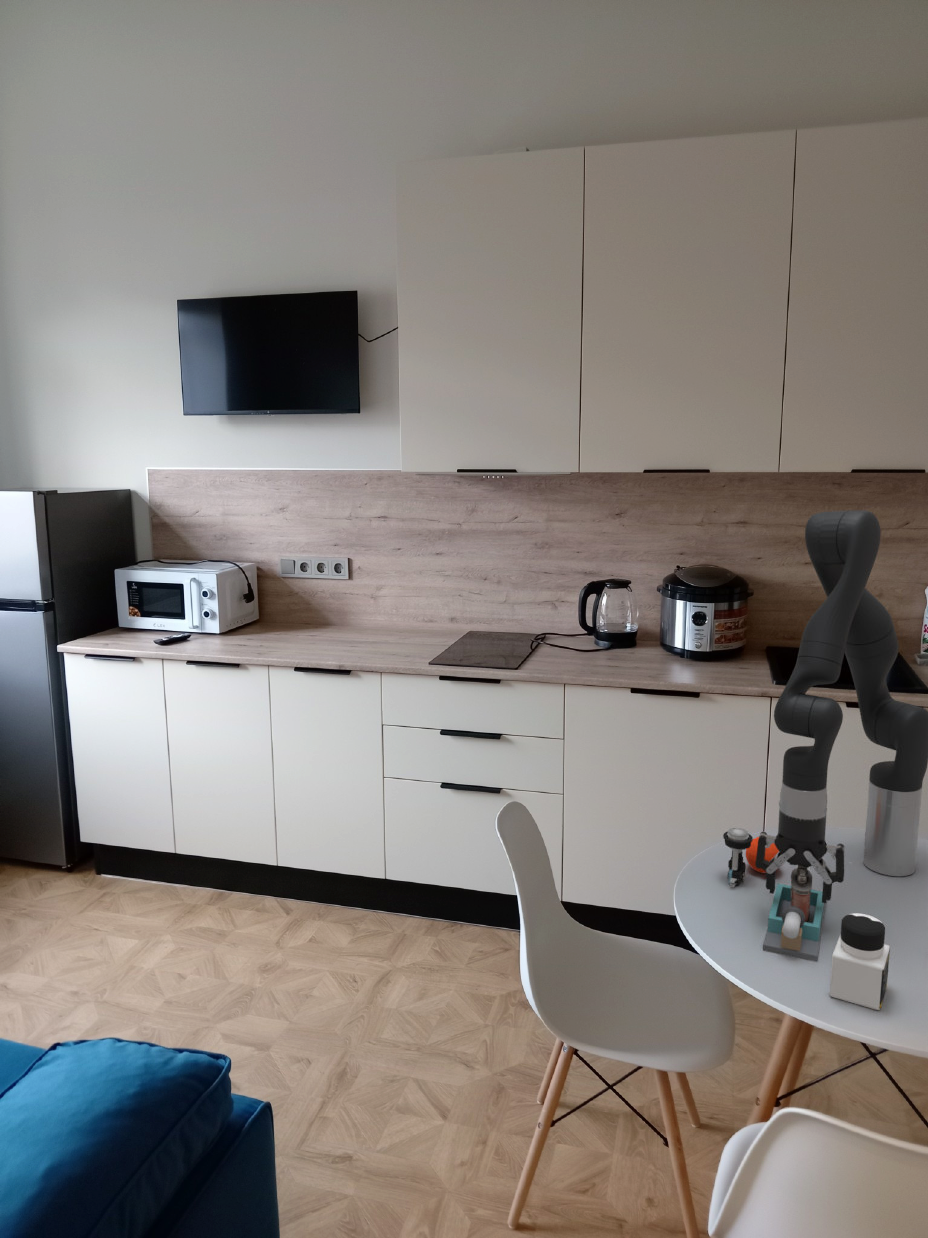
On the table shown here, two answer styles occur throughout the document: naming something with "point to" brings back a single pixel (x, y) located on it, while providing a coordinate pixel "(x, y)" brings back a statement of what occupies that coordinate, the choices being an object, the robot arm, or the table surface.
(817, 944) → the shaft cradle
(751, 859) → the clementine
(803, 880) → the lighter
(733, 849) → the push button
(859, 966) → the medicine bottle
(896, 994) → the table surface
